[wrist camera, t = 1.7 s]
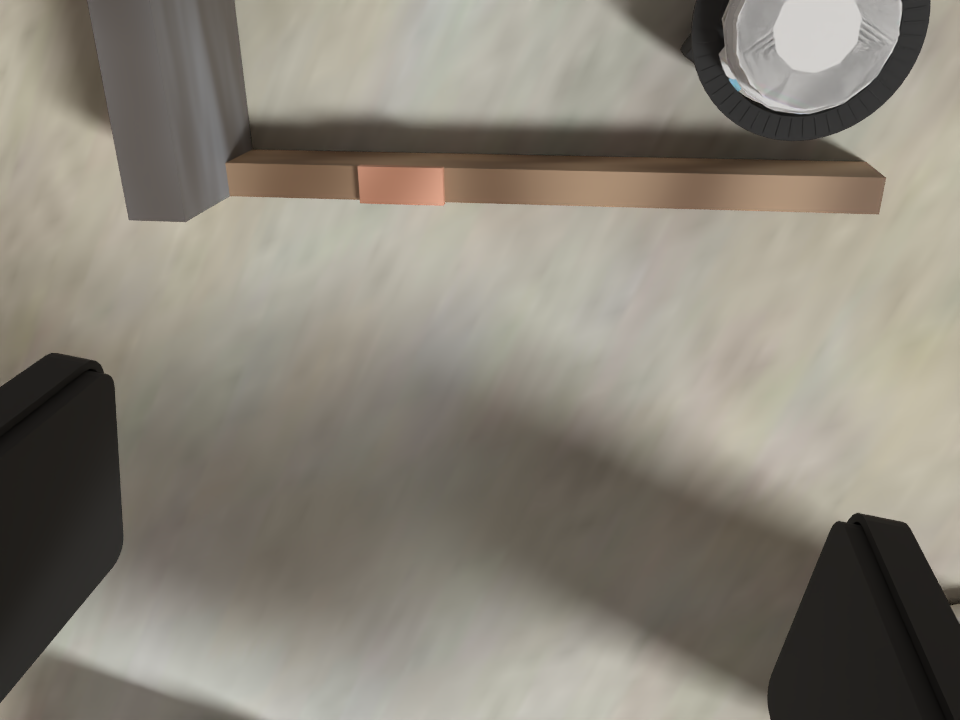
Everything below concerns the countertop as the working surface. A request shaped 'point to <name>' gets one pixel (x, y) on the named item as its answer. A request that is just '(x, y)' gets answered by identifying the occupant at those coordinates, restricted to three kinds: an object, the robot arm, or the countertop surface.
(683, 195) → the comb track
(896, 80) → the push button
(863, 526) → the robot arm
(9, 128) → the countertop surface
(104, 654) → the countertop surface
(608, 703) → the countertop surface
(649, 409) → the countertop surface
